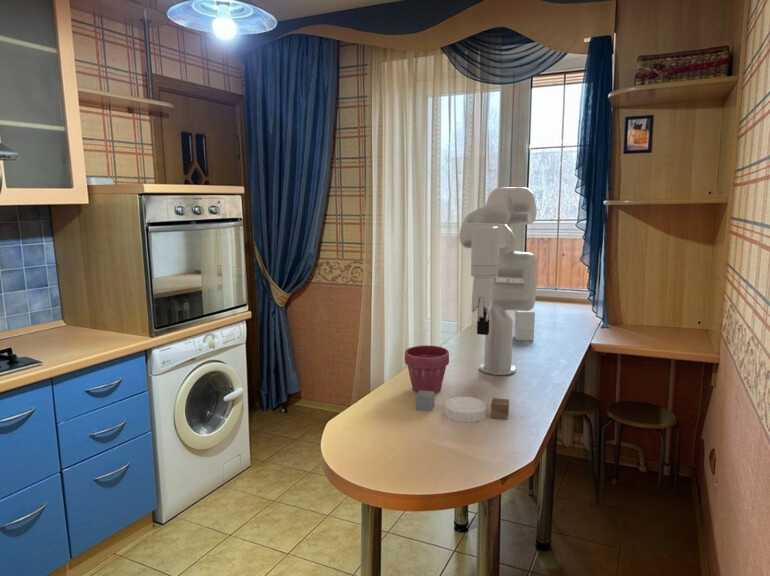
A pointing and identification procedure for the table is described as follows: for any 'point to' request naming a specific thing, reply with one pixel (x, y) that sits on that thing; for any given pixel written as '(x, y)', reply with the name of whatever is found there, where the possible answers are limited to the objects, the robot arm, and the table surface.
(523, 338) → the supplement box
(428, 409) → the slate-grey block
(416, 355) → the plant pot
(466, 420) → the mooncake
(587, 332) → the table surface
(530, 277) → the robot arm
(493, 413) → the walnut block
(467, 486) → the table surface
